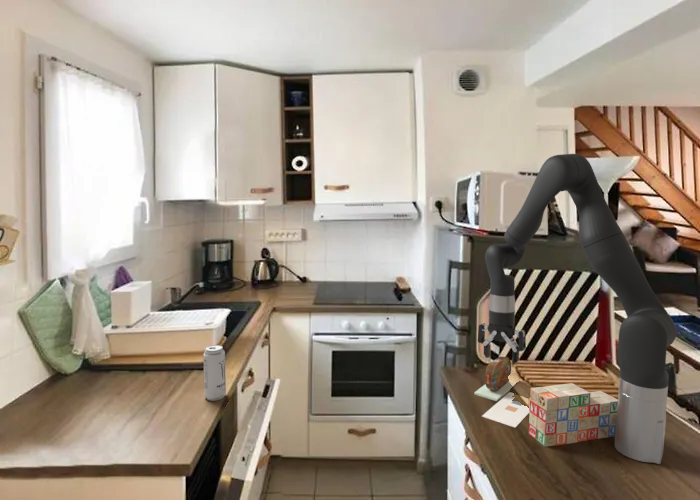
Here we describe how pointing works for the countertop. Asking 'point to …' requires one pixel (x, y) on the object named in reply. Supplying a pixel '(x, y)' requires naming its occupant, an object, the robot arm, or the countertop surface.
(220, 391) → the energy drink can
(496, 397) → the pad
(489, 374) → the tin
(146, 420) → the countertop surface
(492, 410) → the tile
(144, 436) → the countertop surface
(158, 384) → the countertop surface
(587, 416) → the stack of blocks
